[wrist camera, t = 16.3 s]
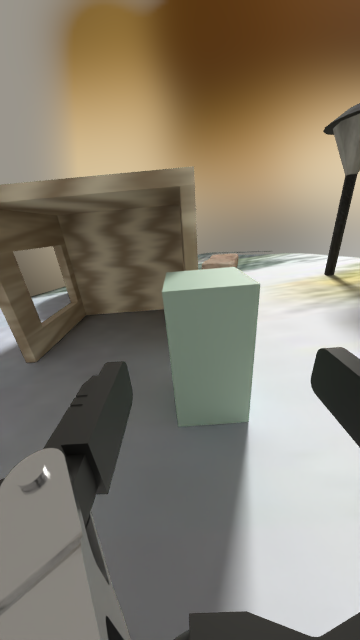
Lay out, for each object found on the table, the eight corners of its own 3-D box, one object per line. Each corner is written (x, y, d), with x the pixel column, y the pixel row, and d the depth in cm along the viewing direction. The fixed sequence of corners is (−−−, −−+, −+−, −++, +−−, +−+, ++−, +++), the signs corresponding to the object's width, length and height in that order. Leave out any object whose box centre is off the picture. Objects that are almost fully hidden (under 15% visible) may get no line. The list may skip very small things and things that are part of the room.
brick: (232, 280, 52) (232, 261, 50) (200, 280, 55) (199, 262, 53) (238, 268, 66) (238, 253, 64) (212, 268, 69) (212, 254, 67)
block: (230, 375, 19) (234, 266, 15) (248, 422, 14) (260, 283, 10) (177, 379, 19) (166, 272, 15) (178, 427, 14) (161, 291, 10)
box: (192, 304, 37) (186, 195, 30) (201, 350, 23) (193, 166, 16) (82, 313, 37) (51, 207, 30) (26, 362, 24) (-56, 190, 17)
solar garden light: (289, 272, 54) (310, 124, 41) (331, 267, 55) (363, 122, 43) (326, 283, 43) (370, 85, 30) (377, 276, 44) (440, 84, 31)
